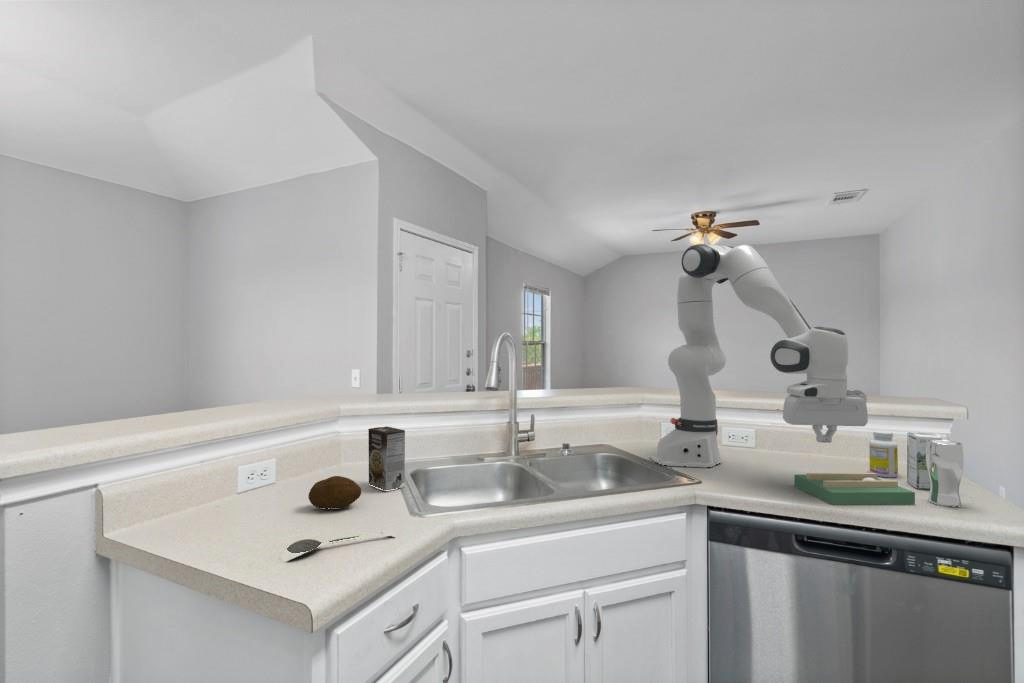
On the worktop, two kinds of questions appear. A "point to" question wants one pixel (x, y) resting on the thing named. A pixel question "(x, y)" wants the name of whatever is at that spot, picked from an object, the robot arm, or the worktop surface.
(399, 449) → the coffee box
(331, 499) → the potato
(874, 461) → the supplement bottle
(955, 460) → the beer glass
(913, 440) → the syrup box
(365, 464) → the worktop surface
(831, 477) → the putting mat
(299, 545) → the soupspoon
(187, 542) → the worktop surface
